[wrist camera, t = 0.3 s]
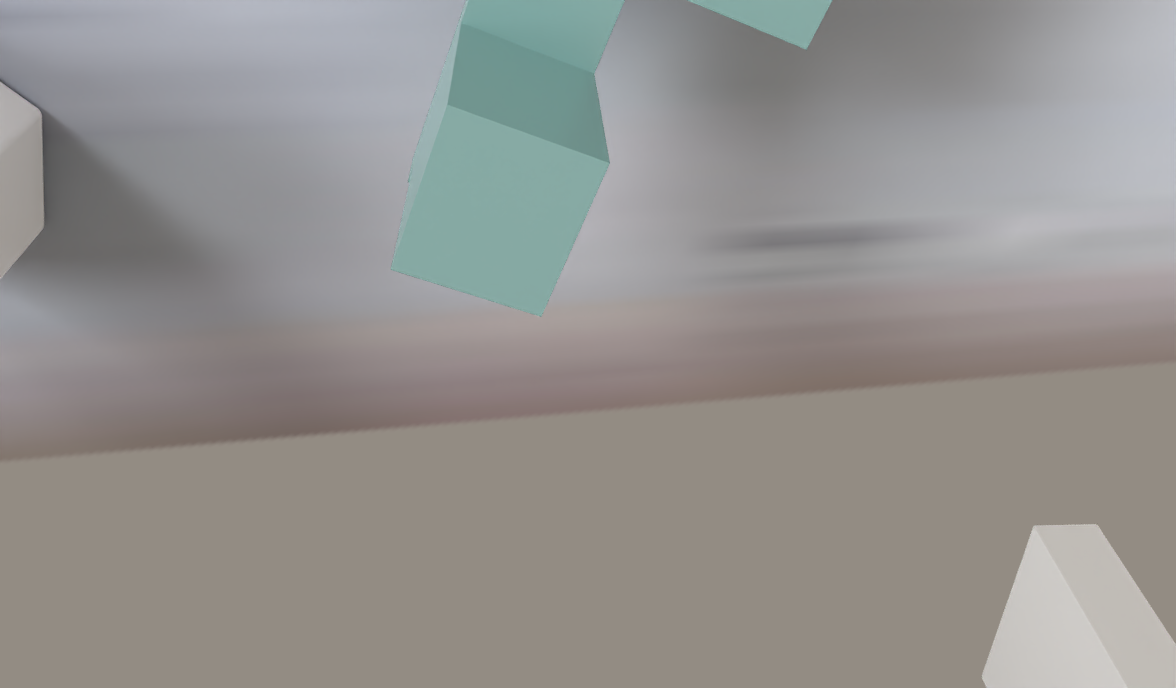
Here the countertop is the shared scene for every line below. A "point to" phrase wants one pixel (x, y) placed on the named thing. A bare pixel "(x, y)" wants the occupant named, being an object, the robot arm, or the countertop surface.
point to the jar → (19, 176)
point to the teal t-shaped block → (526, 142)
